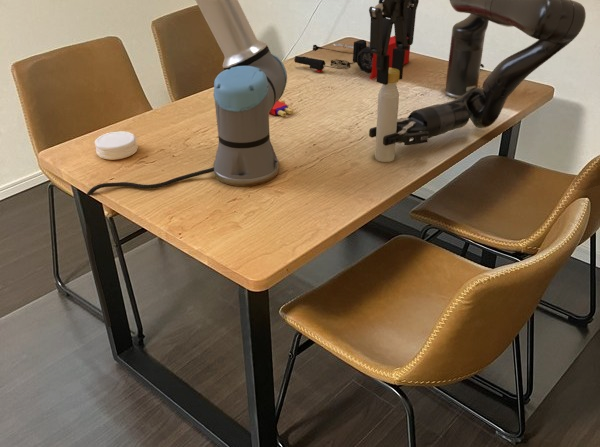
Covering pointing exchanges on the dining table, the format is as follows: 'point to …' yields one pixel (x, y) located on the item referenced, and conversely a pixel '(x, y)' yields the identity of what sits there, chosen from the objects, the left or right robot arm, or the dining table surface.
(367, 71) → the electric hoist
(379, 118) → the bottle
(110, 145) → the white round container
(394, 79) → the cap
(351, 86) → the dining table surface
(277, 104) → the toy figure
